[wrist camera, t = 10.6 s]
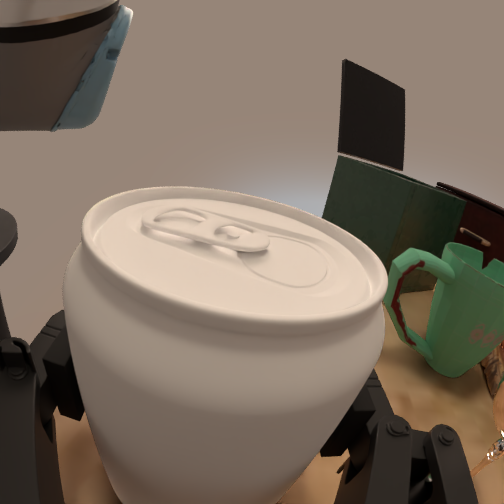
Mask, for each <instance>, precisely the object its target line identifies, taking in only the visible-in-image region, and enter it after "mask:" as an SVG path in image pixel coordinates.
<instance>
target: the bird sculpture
mask: <svg viewBox="0 0 504 504" xmlns="http://www.w3.org/2000/svg"><path fill="white" fill-rule="evenodd" d="M502 346H503V348H502ZM481 363H482V364H481V365H482V367H483V365H484V368H485V367H486V369H484V373H485V374H486V373H487V374H486V376H488V377H487V378H486V380H487V379H488V380H487V382H488V383H487V384H488V387H489V389H490V394H491V395H493V394H494V393H495V392H496V389H497V386H498V384H499V382H500V380H501V378H502V376H503V374H504V340H503V341H502V342H501V345H500V344H499V345H498V346H497V347H496V348H495V349H494V350H493V351H492V352H490V353H489V354H488V355H487V356H486V357H485V358H484V359H483V360H482V362H481Z"/></svg>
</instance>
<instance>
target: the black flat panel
mask: <svg viewBox="0 0 504 504" xmlns="http://www.w3.org/2000/svg"><path fill="white" fill-rule="evenodd" d="M404 140H405V90H404V89H403V88H401V87H399V86H398V85H396V84H394V83H392V82H390V81H388V80H387V79H385V78H383V77H381V76H379V75H377V74H375V73H373V72H371V71H370V70H367V69H365V68H364V67H362V66H359V65H357V64H355V63H353V62H351V61H348V60H347V59H344V60H342V83H341V105H340V123H339V138H338V151H337V152H340V153H343V154H346V155H350V156H354V157H357V158H361V159H364V160H367V161H370V162H374V163H377V164H380V165H383V166H387V167H389V168H392V169H395V170H399V171H403V161H404Z"/></svg>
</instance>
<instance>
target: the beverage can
mask: <svg viewBox="0 0 504 504" xmlns="http://www.w3.org/2000/svg"><path fill="white" fill-rule="evenodd" d="M81 240H82V241H81V242H80V244H79V245H78V246H77V248H76V249H75V251H74V253H73V255H72V257H71V259H70V261H69V263H68V266H67V269H66V272H65V276H64V282H63V305H64V313H65V320H66V327H67V333H68V339H69V344H70V349H71V354H72V359H73V364H74V369H75V373H76V377H77V382H78V386H79V390H80V394H81V397H82V401H83V405H84V408H85V412H86V415H87V419H88V422H89V425H90V428H91V431H92V435H93V438H94V441H95V443H96V446H97V449H98V452H99V455H100V457H101V460H102V463H103V465H104V468H105V471H106V473H107V476H108V478H109V480H110V483H111V485H112V487H113V489H114V491H115V493H116V495H117V496H118V498H119V499H120V501H121V502H122V503H123V504H276V503H277V502H278V501H279V500H280V499H281V498H282V496H283V495H284V494H285V493H286V492H287V491H288V489H289V488H290V487H291V486H292V485H293V484H294V482H295V481H296V480H297V479H298V478H299V476H300V475H301V474H302V473H303V471H304V470H305V469H306V468H307V466H308V465H309V464H310V463H311V461H312V460H313V459H314V457H315V456H316V455H317V453H318V452H319V451H320V449H321V448H322V447H323V445H324V444H325V443H326V441H327V440H328V438H329V437H330V436H331V434H332V433H333V431H334V430H335V429H336V427H337V426H338V424H339V423H340V421H341V420H342V418H343V417H344V415H345V414H346V412H347V411H348V409H349V408H350V406H351V405H352V403H353V402H354V400H355V398H356V397H357V395H358V394H359V392H360V390H361V389H362V387H363V385H364V384H365V382H366V380H367V379H368V377H369V375H370V374H371V372H372V370H373V368H374V367H375V365H376V363H377V361H378V359H379V356H380V354H381V350H382V347H383V343H384V336H385V318H384V311H383V306H382V300H383V298H384V296H385V294H386V291H387V287H388V276H387V272H386V269H385V267H384V265H383V264H382V262H381V260H380V259H379V258H378V256H377V255H376V254H375V253H374V252H373V251H372V250H371V249H370V248H369V247H368V246H367V245H365V244H364V243H363V242H362V241H360V240H359V239H358V238H356V237H355V236H353V235H352V234H350V233H349V232H347V231H345V230H344V229H342V228H340V227H338V226H336V225H334V224H333V223H331V222H329V221H326V220H324V219H322V218H320V217H317V216H315V215H313V214H311V213H308V212H305V211H303V210H300V209H297V208H295V207H292V206H289V205H286V204H282V203H279V202H276V201H272V200H268V199H265V198H260V197H256V196H252V195H247V194H242V193H237V192H231V191H225V190H218V189H210V188H199V187H151V188H143V189H136V190H131V191H126V192H122V193H119V194H116V195H113V196H110V197H108V198H106V199H104V200H102V201H100V202H98V203H97V204H96V205H94V206H93V207H92V208H91V209H90V210H89V211H88V212H87V214H86V215H85V217H84V220H83V223H82V228H81Z"/></svg>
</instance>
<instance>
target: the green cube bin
mask: <svg viewBox="0 0 504 504" xmlns="http://www.w3.org/2000/svg"><path fill="white" fill-rule="evenodd" d="M466 202H467V201H465V200H463V199H461V198H458V197H456V196H454V195H452V194H449V193H447V192H445V191H442V190H440V189H438V188H435V187H433V186H431V185H428V184H425V183H423V182H421V181H418V180H416V179H413V178H411V177H408V176H406V175H403V174H400V173H397V172H394V171H391V170H388V169H385V168H381V167H378V166H375V165H372V164H368V163H365V162H361V161H358V160H354V159H351V158H347V157H344V156H338V159H337V164H336V167H335V171H334V175H333V179H332V183H331V186H330V190H329V194H328V197H327V201H326V205H325V208H324V212H323V216H322V219H324V220H326V221H329V222H331V223H333V224H334V225H336V226H338V227H340V228H342V229H344V230H345V231H347V232H349V233H350V234H352V235H353V236H355V237H356V238H358V239H359V240H360V241H362V242H363V243H364V244H365V245H367V246H368V247H369V248H370V249H371V250H372V251H373V252H374V253H375V254H376V255H377V256H378V258H379V259H380V260H381V262H382V264H383V265H384V267H385V269H386V272H387V276H389V272H390V269H391V265H392V261H393V260H394V259H395V258H397V257H398V256H400V255H401V254H402V253H404V252H405V251H406V250H408V249H409V248H415V249H418V250H422V251H425V252H429V253H431V254H433V255H434V256H436V257H438V258H439V259H441V258H442V254H443V250H444V248H445V245H446V244H447V243H450V242H452V243H453V240H454V237H455V235H456V232H457V229H458V226H459V223H460V221H461V218H462V215H463V212H464V208H465V205H466ZM437 279H438V278H437V277H436V276H434V275H433V274H431V273H430V272H429V271H424V270H419V269H414V270H413V271H412V272H410V273H409V274H407V275H406V276H405V278H404V281H403V285H402V289H401V293H405V292H415V291H424V290H433V289H434V287H435V284H436V282H437Z"/></svg>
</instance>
